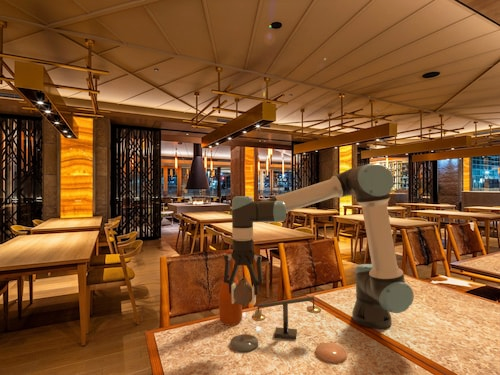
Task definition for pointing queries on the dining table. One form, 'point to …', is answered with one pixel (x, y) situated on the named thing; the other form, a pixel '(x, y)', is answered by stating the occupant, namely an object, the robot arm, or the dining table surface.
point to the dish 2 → (331, 352)
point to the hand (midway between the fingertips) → (243, 302)
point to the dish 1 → (244, 343)
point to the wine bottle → (229, 301)
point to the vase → (243, 292)
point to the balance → (285, 316)
